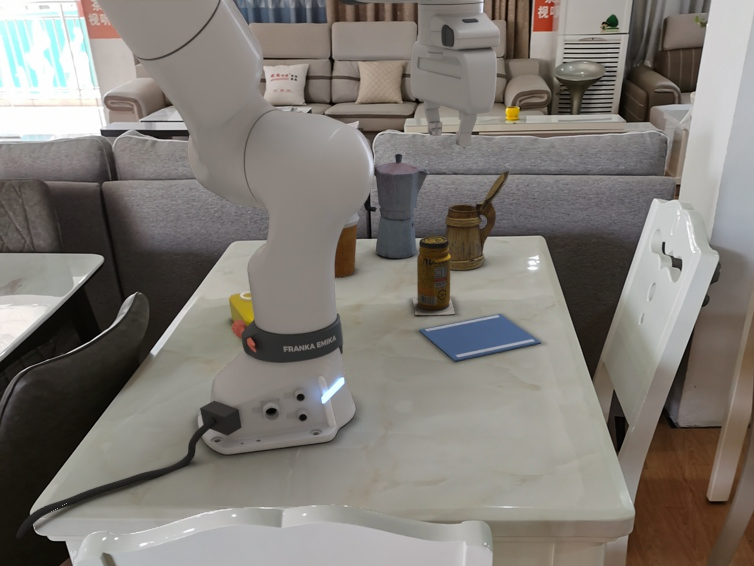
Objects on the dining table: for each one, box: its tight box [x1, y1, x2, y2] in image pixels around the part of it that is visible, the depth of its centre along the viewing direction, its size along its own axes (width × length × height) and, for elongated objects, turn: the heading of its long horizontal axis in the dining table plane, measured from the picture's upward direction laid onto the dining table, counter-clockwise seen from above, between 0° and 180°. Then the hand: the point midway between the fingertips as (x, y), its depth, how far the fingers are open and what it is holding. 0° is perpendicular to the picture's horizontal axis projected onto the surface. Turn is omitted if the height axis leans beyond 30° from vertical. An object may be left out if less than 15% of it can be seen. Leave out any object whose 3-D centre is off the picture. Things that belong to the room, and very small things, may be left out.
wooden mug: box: [444, 170, 511, 271], centre depth 158 cm, size 9×14×18 cm, turn 89°
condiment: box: [412, 235, 456, 316], centre depth 141 cm, size 7×8×12 cm
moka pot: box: [363, 153, 430, 259], centre depth 165 cm, size 10×15×20 cm, turn 89°
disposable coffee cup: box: [334, 211, 360, 278], centre depth 158 cm, size 10×10×12 cm
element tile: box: [228, 290, 254, 326], centre depth 138 cm, size 15×15×5 cm
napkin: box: [418, 313, 542, 363], centre depth 133 cm, size 16×14×1 cm
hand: (448, 140), depth 115 cm, fingers open, 8 cm apart
